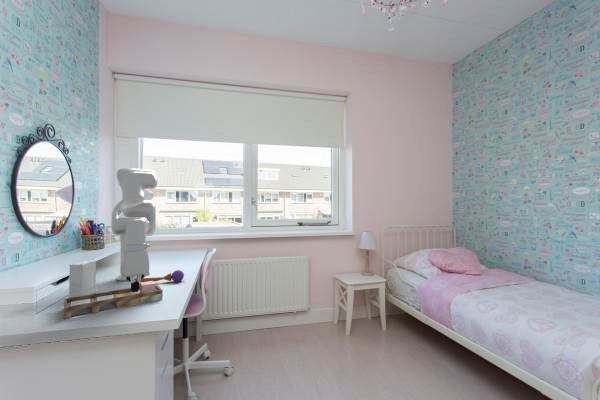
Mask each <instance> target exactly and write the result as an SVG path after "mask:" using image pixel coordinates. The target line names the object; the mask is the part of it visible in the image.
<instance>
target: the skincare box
mask: <svg viewBox="0 0 600 400" xmlns="http://www.w3.org/2000/svg"><path fill="white" fill-rule="evenodd" d="M68 279H69V280H68V283H69V285H68V286H69V288H68V289H69V290H68V298H71V297H77V296H83V295H89V294H95V293H97V292H96V286H97V285H96V284H97V283H96V282H97V260H90V259H89V260H87V259H83V260H80V261H78V262H74V263H70V264H69V277H68Z"/></svg>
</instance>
